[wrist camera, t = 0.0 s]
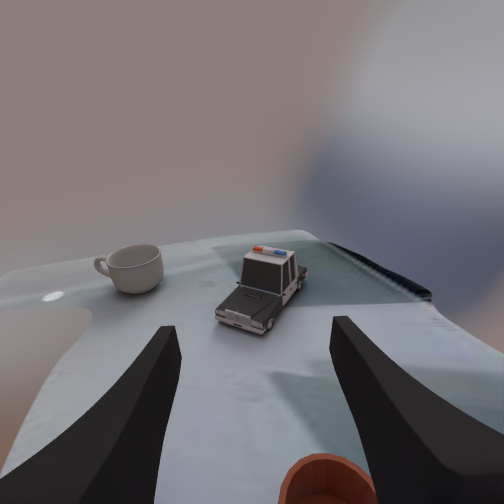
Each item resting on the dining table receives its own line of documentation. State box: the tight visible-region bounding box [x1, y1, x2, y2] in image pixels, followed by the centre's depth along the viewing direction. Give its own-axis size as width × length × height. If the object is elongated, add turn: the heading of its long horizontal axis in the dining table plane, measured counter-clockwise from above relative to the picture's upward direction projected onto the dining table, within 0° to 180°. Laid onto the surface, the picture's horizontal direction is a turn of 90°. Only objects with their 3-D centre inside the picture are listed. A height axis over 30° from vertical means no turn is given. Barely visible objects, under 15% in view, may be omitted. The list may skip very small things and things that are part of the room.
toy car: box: [215, 245, 308, 335], centre depth 53 cm, size 10×21×10 cm, turn 151°
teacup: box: [94, 244, 164, 294], centre depth 60 cm, size 14×11×8 cm
